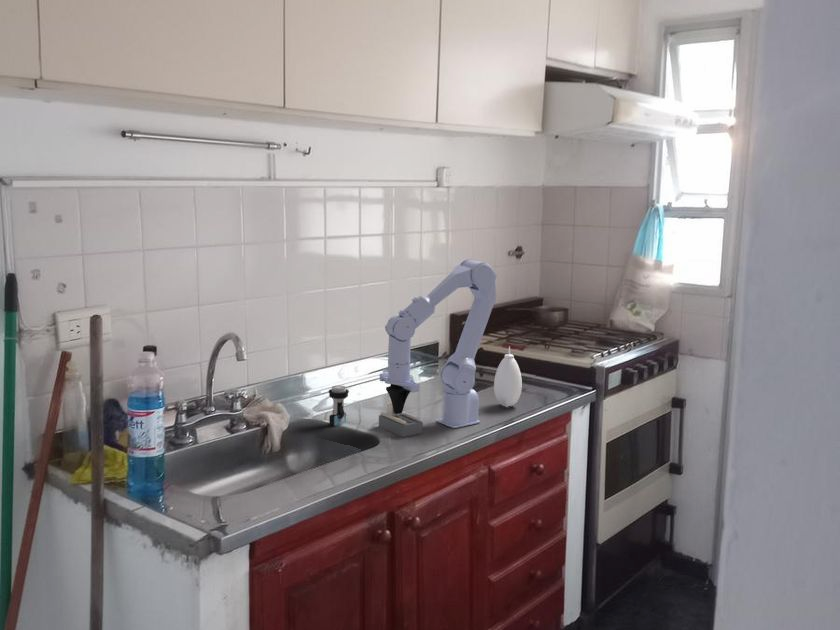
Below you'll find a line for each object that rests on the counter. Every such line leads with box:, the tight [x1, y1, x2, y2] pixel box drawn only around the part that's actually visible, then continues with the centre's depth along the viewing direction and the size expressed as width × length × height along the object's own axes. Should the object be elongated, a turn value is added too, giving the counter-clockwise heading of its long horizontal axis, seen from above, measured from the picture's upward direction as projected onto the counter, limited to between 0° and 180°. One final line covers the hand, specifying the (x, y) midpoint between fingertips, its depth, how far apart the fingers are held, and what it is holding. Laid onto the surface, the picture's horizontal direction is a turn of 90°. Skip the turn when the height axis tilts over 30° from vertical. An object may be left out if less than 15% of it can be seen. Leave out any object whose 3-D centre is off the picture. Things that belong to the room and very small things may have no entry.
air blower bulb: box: [493, 345, 523, 407], centre depth 235 cm, size 8×8×18 cm
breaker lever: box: [386, 402, 400, 416], centre depth 214 cm, size 2×2×3 cm
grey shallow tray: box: [378, 410, 424, 438], centre depth 212 cm, size 6×11×4 cm, turn 38°
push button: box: [328, 385, 350, 427], centre depth 216 cm, size 7×5×10 cm
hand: (398, 413), depth 212 cm, fingers closed
